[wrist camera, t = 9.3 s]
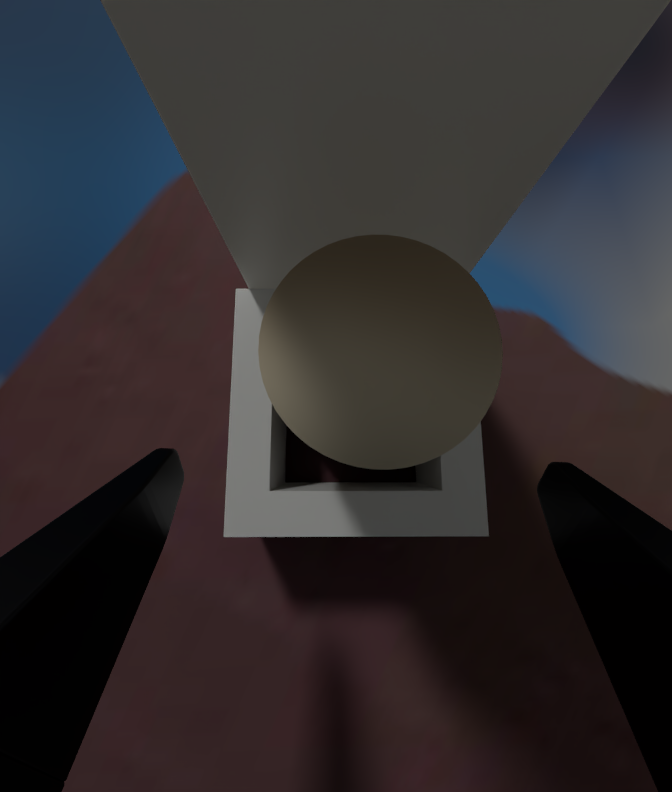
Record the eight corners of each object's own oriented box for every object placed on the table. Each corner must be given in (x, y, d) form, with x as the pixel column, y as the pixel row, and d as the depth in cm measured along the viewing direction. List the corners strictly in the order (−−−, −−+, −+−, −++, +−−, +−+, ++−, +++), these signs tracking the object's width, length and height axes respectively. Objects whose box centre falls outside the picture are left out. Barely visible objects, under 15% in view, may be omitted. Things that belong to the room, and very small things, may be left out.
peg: (384, 468, 16) (484, 494, 5) (299, 450, 16) (231, 439, 5) (399, 385, 17) (516, 259, 6) (318, 369, 17) (289, 214, 6)
